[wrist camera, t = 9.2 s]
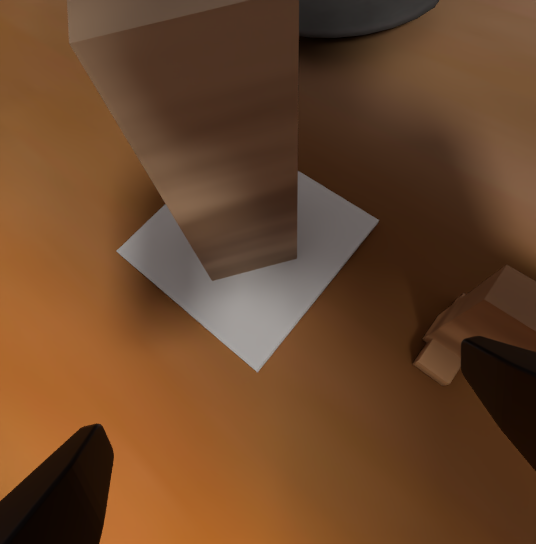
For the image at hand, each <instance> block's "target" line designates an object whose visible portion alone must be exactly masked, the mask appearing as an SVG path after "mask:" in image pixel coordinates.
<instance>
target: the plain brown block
mask: <svg viewBox="0 0 536 544" xmlns="http://www.w3.org/2000/svg"><path fill="white" fill-rule="evenodd" d="M67 9H68V28H69V44H70V46H71V47H72V49H73V51H74V52H75V54H76V56H77V57H78V59H79V60H80V62H81V64H82V65H83V67H84V69H85V70H86V72H87V74H88V75H89V77H90V79H91V80H92V82H93V84H94V85H95V87H96V89H97V90H98V92H99V94H100V95H101V97H102V99H103V100H104V102H105V104H106V105H107V107H108V109H109V110H110V112H111V114H112V115H113V117H114V119H115V120H116V122H117V124H118V125H119V127H120V129H121V130H122V132H123V134H124V135H125V137H126V139H127V140H128V142H129V144H130V145H131V147H132V149H133V150H134V152H135V154H136V155H137V157H138V159H139V160H140V162H141V164H142V165H143V167H144V169H145V170H146V172H147V174H148V175H149V177H150V179H151V180H152V182H153V184H154V185H155V187H156V189H157V190H158V192H159V194H160V195H161V197H162V199H163V200H164V202H165V204H166V205H167V207H168V209H169V210H170V212H171V214H172V215H173V217H174V219H175V220H176V222H177V224H178V225H179V227H180V229H181V230H182V232H183V234H184V235H185V237H186V239H187V240H188V242H189V244H190V245H191V247H192V249H193V250H194V252H195V254H196V255H197V257H198V259H199V260H200V262H201V264H202V265H203V267H204V269H205V270H206V272H207V274H208V275H209V277H210V279H211V280H212V281H214V280H218V279H222V278H226V277H229V276H233V275H237V274H241V273H245V272H248V271H252V270H256V269H260V268H263V267H267V266H271V265H275V264H279V263H282V262H286V261H290V260H294V259H297V205H298V72H299V0H67Z"/></svg>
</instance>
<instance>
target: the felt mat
mask: <svg viewBox="0 0 536 544" xmlns="http://www.w3.org/2000/svg"><path fill="white" fill-rule="evenodd" d="M378 222H379V220H378V219H376V218H375V217H373V216H371V215H370V214H368V213H366V212H365V211H363V210H361V209H360V208H358V207H357V206H355V205H353V204H352V203H350V202H348V201H347V200H345V199H344V198H342V197H340V196H339V195H337V194H335V193H334V192H332V191H330V190H329V189H327V188H326V187H324V186H322V185H321V184H319V183H317V182H316V181H314V180H312V179H311V178H309V177H308V176H306V175H304V174H303V173H301V172H299V171H298V205H297V259H294V260H290V261H286V262H282V263H279V264H275V265H271V266H267V267H263V268H260V269H256V270H252V271H248V272H245V273H241V274H237V275H233V276H229V277H226V278H222V279H218V280H214V281H212V280H211V279H210V277H209V275H208V274H207V272H206V270H205V269H204V267H203V265H202V264H201V262H200V260H199V259H198V257H197V255H196V254H195V252H194V250H193V249H192V247H191V245H190V244H189V242H188V240H187V239H186V237H185V235H184V234H183V232H182V230H181V229H180V227H179V225H178V224H177V222H176V220H175V219H174V217H173V215H172V214H171V212H170V210H169V209H168V207H167V205H166V204H165V205H164V206H163V207H162V208H161V209H160V210H159V211H158V212H156V213H155V214H154V215H153V216H152V217H151V218H150V219H149V220H148V221H147V222H146V223H145V224H144V225H143V226H142V227H141V228H140V229H139V230H138V231H137V232H136V233H135V234H134V235H133V236H131V237H130V238H129V239H128V240H127V241H126V242H125V243H124V244H123V245H122V246H121V247H120V248H119V249H118V250H117V252H118V253H119V254H120V255H121V256H122V257H123V258H125V259H126V260H127V261H128V262H129V263H130V264H132V265H133V266H134V267H135V268H136V269H137V270H139V271H140V272H141V273H142V274H143V275H144V276H146V277H147V278H148V279H149V280H150V281H151V282H153V283H154V284H155V285H156V286H157V287H158V288H160V289H161V290H162V291H163V292H164V293H165V294H167V295H168V296H169V297H170V298H171V299H172V300H174V301H175V302H176V303H177V304H178V305H179V306H181V307H182V308H183V309H184V310H185V311H186V312H188V313H189V314H190V315H191V316H192V317H193V318H195V319H196V320H197V321H198V322H199V323H200V324H202V325H203V326H204V327H205V328H206V329H207V330H209V331H210V332H211V333H212V334H213V335H214V336H216V337H217V338H218V339H219V340H220V341H221V342H223V343H224V344H225V345H226V346H227V347H228V348H230V349H231V350H232V351H233V352H234V353H235V354H237V355H238V356H239V357H240V358H241V359H242V360H244V361H245V362H246V363H247V364H248V365H249V366H251V367H252V368H253V369H254V370H255V371H256V372H258V371H259V370H260V369H261V368H262V366H263V365H264V364H265V363H266V361H267V360H268V359H269V358H270V356H271V355H272V354H273V353H274V351H275V350H276V349H277V348H278V346H279V345H280V344H281V343H282V342H283V340H284V339H285V338H286V337H287V335H288V334H289V333H290V332H291V330H292V329H293V328H294V327H295V325H296V324H297V323H298V322H299V320H300V319H301V318H302V317H303V315H304V314H305V313H306V312H307V310H308V309H309V308H310V307H311V306H312V304H313V303H314V302H315V301H316V299H317V298H318V297H319V296H320V294H321V293H322V292H323V291H324V289H325V288H326V287H327V286H328V284H329V283H330V282H331V281H332V279H333V278H334V277H335V276H336V274H337V273H338V272H339V271H340V269H341V268H342V267H343V266H344V265H345V263H346V262H347V261H348V260H349V258H350V257H351V256H352V255H353V253H354V252H355V251H356V250H357V248H358V247H359V246H360V245H361V243H362V242H363V241H364V240H365V238H366V237H367V236H368V235H369V233H370V232H371V231H372V230H373V229H374V227H375V226H376V225H377V224H378Z"/></svg>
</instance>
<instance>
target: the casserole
mask: <svg viewBox="0 0 536 544" xmlns="http://www.w3.org/2000/svg"><path fill="white" fill-rule="evenodd" d="M438 2H439V0H299V36H303V37H319V38H339V37H348V36H358V35H366V34H370V33H374V32H378V31H382V30H386V29H390V28H394V27H397V26H399V25H402V24H404V23H407V22H409V21H412V20H414V19H417V18H418V17H420V16H421V15H423V14H425V13H426V12H428V11H429V10H431V9H433V8H434V7H435V6H436V4H437V3H438Z"/></svg>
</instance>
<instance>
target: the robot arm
mask: <svg viewBox="0 0 536 544" xmlns="http://www.w3.org/2000/svg"><path fill="white" fill-rule="evenodd" d="M461 371H462V373H463V375H464V377H465V379H466V380H467V381H468V383H469V384H470V386H471V387H472V389H473V390H474V392H475V393H476V394H477V396H478V397H479V399H480V400H481V402H482V403H483V405H484V406H485V407H486V409H487V410H488V412H489V413H490V415H491V416H492V418H493V419H494V421H495V422H496V423H497V425H498V426H499V427H500V429H501V430H502V431H503V432H504V434H505V435H506V436H507V437H508V439H509V440H510V441H511V442H512V443H513V445H514V446H515V447H516V448H517V449H518V451H519V452H520V453H521V454H522V455H523V456H524V458H525V459H526V460H527V461H528V462H529V464H530V465H531V466H532V467H533V468H534V469H535V471H536V352H534V351H531V350H527V349H524V348H520V347H517V346H513V345H510V344H507V343H503V342H500V341H496V340H493V339H489V338H486V337H483V336H474V337H469V338H465V339H463V340H462V342H461ZM113 460H114V453H113V448H112V446H111V444H110V441H109V439H108V437H107V435H106V432H105V430H104V428H103V426H102V425H101V424H93V425H88V426H84V427H82V428H80V429H79V430H78V431H77V432H76V433H75V434H74V435H72V436H71V437H70V438H69V439H68V440H67V441H66V442H65V443H64V444H63V445H61V446H60V447H59V448H58V449H57V450H56V451H55V452H54V453H53V454H52V455H50V456H49V457H48V458H47V459H46V460H45V461H44V462H43V463H42V464H41V465H39V466H38V467H37V468H36V469H35V470H34V471H33V472H32V473H31V474H30V475H29V476H27V477H26V478H25V479H24V480H23V481H22V482H21V483H20V484H19V485H18V486H16V487H15V488H14V489H13V490H12V491H11V492H10V493H9V494H8V495H7V496H5V497H4V498H3V499H2V500H1V501H0V544H99V542H100V538H101V534H102V530H103V525H104V519H105V513H106V507H107V500H108V493H109V487H110V480H111V473H112V467H113Z"/></svg>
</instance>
